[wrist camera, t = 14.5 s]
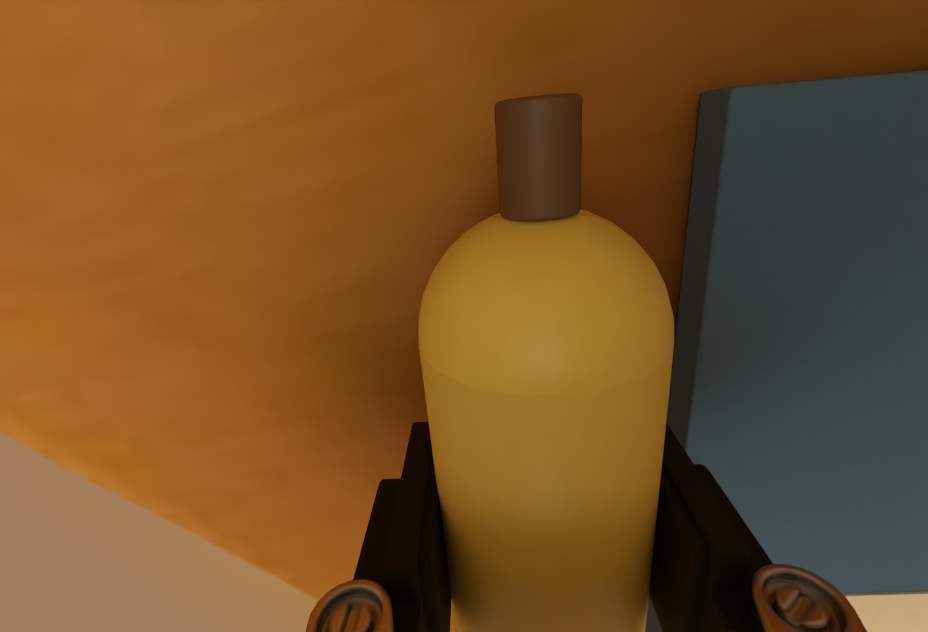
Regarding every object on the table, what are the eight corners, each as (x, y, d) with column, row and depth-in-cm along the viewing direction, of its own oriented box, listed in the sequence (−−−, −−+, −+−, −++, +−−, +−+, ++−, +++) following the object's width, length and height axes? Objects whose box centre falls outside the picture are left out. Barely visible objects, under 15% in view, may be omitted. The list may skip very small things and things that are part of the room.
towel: (699, 92, 11) (733, 86, 10) (1188, 49, 11) (1304, 36, 9) (643, 634, 19) (658, 678, 17) (927, 627, 18) (967, 671, 17)
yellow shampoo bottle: (606, 636, 14) (658, 833, 10) (469, 640, 14) (467, 835, 10) (636, 96, 8) (778, 65, 4) (409, 116, 9) (355, 103, 5)
